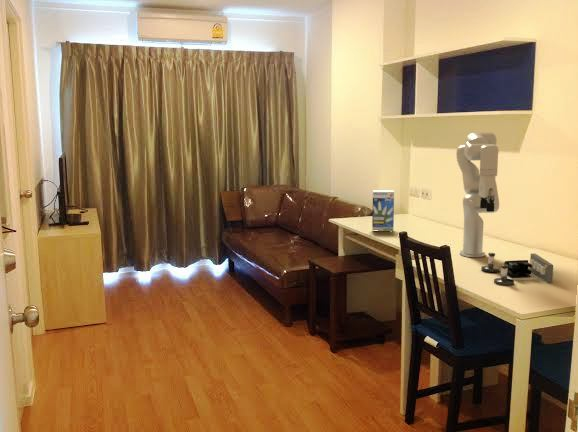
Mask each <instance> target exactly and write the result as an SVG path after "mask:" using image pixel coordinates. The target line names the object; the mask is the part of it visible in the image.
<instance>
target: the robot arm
mask: <svg viewBox="0 0 578 432" xmlns="http://www.w3.org/2000/svg"><path fill="white" fill-rule="evenodd" d="M455 153H456V161H457V164H458V167H459V169H460V171H461V174H462V175H461V176H462V183H463V189H464V192H465V193H466V195H465V196H464V197H463V198H462V207H463V235H462V236H463V238H462V239H463V240H462V242H463V243H462V250H460V251H459V255H461V256H463V257H467V258H483V257H485V256H486V252H485V251H483V244H484V243H483V242H484V220H483V218H482V217H481V215H480V214H483V213H484V214H488V213H489V214H492V213H496V212H498V211H499V209H500V199H499V193H498V185H497V181H496V177H497V176H498V166H499V165H498V162H499V147H498V145H497V137H496V134H494V133H493V132H490V131H487V132H479V131H478V132H472V133H470V134H468V135H467V136H466V138H465V144H462V145H460V146H458V147H457V149H456V152H455ZM472 161H479V167H478V166H477V165H476V164H475V163H473V162H472Z"/></svg>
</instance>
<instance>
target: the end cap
mask: <svg viewBox="0 0 578 432" xmlns="http://www.w3.org/2000/svg"><path fill="white" fill-rule="evenodd" d="M503 264H506V265H508V270H507V276H508V277H510V278H529V277H531V276H532V273H533V272H532V271H531V270H530V268H532V264H530V262H529V260H528V259H522V260H520V259H517V260H505V261H504V262H503ZM530 275H531V276H530Z"/></svg>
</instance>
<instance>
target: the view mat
mask: <svg viewBox="0 0 578 432" xmlns="http://www.w3.org/2000/svg"><path fill="white" fill-rule="evenodd" d="M499 274H500V275H501V272H499ZM530 276H531V277H529V278H510V277H508V276H507V278H508V279H512V280H513V281H526V280H527V281H533V280H534V281H536V280H537V279H536V278H535V277H534V276H532V274H531V275H530Z"/></svg>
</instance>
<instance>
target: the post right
mask: <svg viewBox="0 0 578 432" xmlns="http://www.w3.org/2000/svg"><path fill="white" fill-rule="evenodd" d="M507 270H508V265H506V264H504V263H502V264H500V273H501V274H500V277H497V278H496V277H495V278H494V279H493V283H494V285H497V286H503V287H508V286H510V287H511V286H513V285H515V280H512V279H508V278H507Z"/></svg>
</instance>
